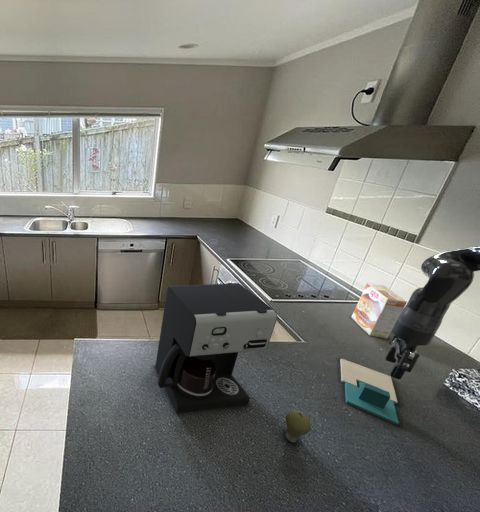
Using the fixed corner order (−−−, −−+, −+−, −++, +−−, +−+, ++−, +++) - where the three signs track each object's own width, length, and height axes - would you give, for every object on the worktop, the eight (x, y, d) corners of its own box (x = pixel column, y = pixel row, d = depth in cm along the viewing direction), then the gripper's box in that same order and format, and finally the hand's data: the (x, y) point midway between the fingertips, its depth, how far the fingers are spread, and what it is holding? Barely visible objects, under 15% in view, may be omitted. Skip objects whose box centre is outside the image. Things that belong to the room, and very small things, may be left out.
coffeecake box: (349, 317, 137) (366, 282, 130) (367, 320, 135) (384, 285, 128) (368, 336, 124) (387, 298, 116) (387, 339, 122) (408, 301, 114)
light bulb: (274, 434, 80) (284, 409, 76) (286, 427, 82) (297, 403, 78) (293, 453, 75) (305, 427, 71) (306, 445, 77) (318, 420, 73)
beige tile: (389, 379, 101) (390, 376, 100) (395, 405, 90) (397, 402, 90) (339, 361, 108) (341, 358, 108) (340, 383, 98) (342, 380, 98)
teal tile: (389, 397, 93) (398, 382, 91) (396, 426, 83) (406, 411, 81) (343, 378, 100) (350, 364, 98) (345, 404, 90) (353, 389, 88)
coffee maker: (164, 418, 83) (182, 320, 70) (143, 369, 101) (155, 283, 87) (248, 408, 87) (281, 314, 74) (215, 362, 105) (236, 280, 92)
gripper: (444, 342, 71) (415, 390, 77) (429, 317, 81) (404, 361, 87) (403, 330, 75) (378, 376, 81) (393, 308, 85) (372, 350, 92)
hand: (392, 368), depth 84 cm, fingers open, 8 cm apart
